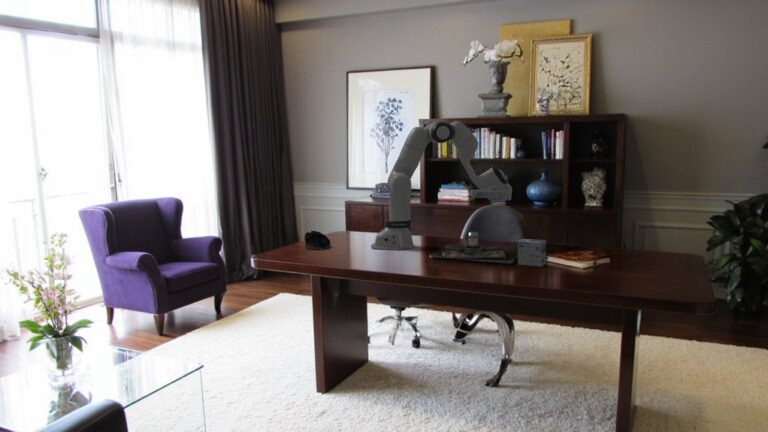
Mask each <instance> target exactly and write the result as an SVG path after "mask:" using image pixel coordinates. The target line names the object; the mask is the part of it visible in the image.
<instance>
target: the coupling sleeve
mask: <svg viewBox="0 0 768 432" xmlns="http://www.w3.org/2000/svg"><path fill="white" fill-rule="evenodd" d="M467 239H468V241H467V242H468V244H467V245H468V248H473V249H478V245H479V232H477V231H469V232H468V233H467Z"/></svg>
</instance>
